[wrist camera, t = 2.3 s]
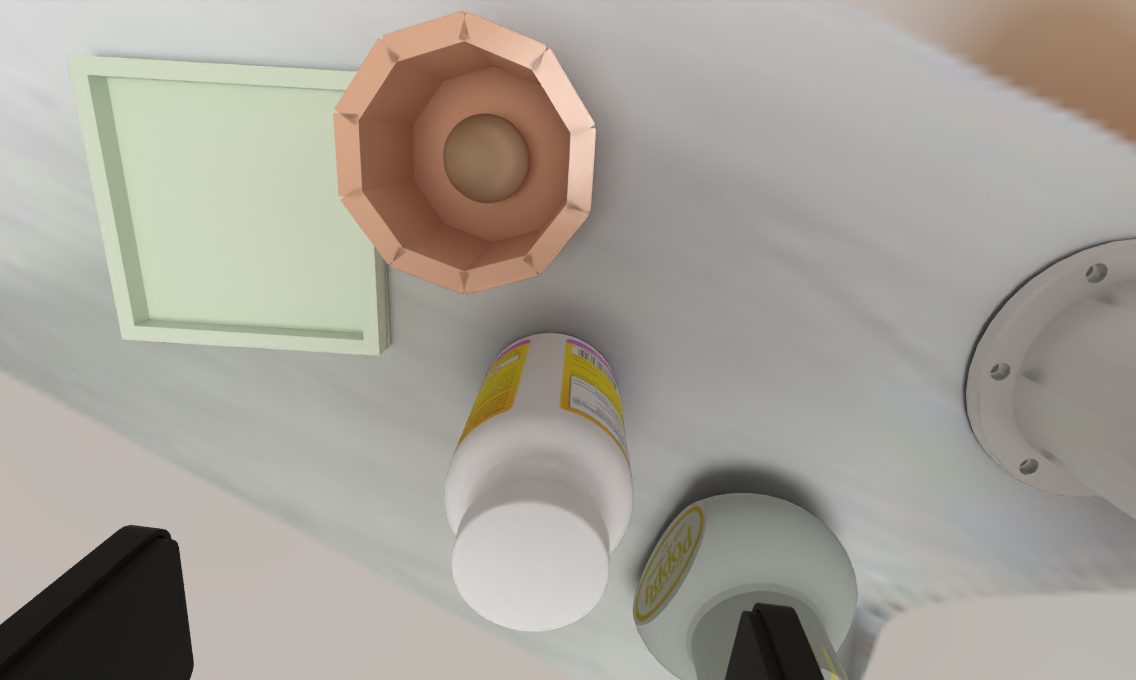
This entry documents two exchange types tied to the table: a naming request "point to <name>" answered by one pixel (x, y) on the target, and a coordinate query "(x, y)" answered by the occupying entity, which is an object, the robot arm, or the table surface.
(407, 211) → the pot
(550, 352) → the supplement bottle
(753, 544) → the air freshener
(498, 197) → the cork ball
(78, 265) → the table surface
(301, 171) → the tray
